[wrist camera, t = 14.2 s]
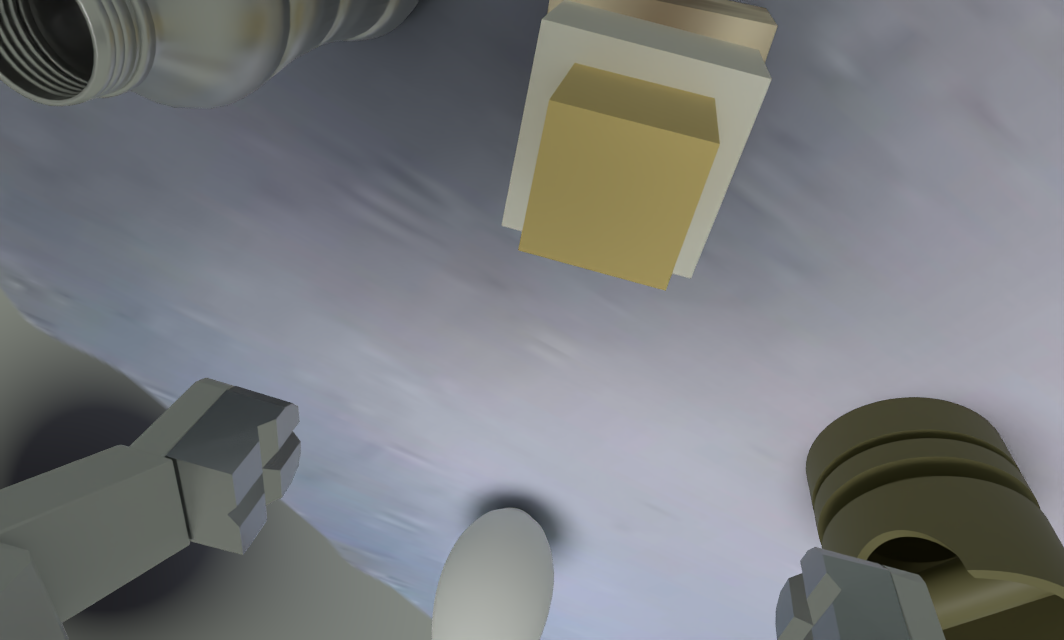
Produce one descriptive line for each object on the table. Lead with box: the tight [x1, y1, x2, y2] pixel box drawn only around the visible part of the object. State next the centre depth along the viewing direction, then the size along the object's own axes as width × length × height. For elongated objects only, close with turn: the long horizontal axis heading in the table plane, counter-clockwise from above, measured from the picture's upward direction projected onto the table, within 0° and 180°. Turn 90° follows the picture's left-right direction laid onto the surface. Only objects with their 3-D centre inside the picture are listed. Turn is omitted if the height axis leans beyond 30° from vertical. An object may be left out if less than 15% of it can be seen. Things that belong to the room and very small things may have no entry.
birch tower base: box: [547, 0, 777, 63], centre depth 30 cm, size 9×9×5 cm
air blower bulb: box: [432, 508, 554, 640], centre depth 44 cm, size 8×8×18 cm
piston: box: [806, 397, 1064, 640], centre depth 36 cm, size 11×12×11 cm
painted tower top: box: [502, 0, 772, 279], centre depth 26 cm, size 8×8×5 cm
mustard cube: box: [518, 63, 720, 291], centre depth 22 cm, size 5×5×5 cm
